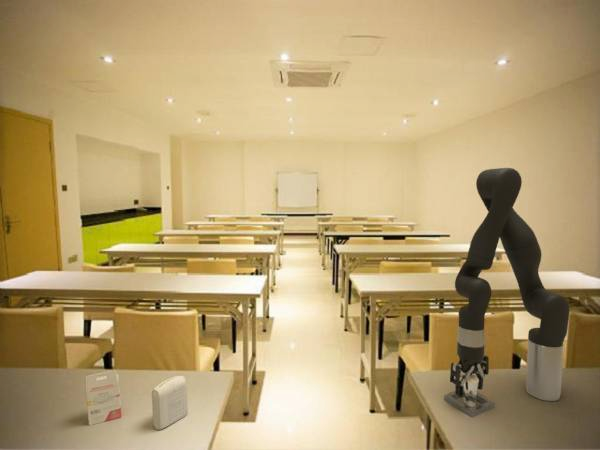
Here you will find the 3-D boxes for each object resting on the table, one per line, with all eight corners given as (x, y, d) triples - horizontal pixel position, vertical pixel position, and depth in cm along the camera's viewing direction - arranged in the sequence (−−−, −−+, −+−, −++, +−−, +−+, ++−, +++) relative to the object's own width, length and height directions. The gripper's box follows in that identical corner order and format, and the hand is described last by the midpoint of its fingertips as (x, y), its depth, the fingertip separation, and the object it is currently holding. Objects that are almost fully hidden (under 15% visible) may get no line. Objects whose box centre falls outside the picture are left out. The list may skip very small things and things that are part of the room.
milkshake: (472, 398, 118) (473, 367, 117) (480, 408, 113) (481, 376, 112) (458, 398, 118) (458, 367, 117) (465, 408, 113) (466, 376, 112)
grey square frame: (466, 391, 122) (466, 386, 122) (494, 407, 113) (494, 402, 113) (444, 399, 117) (444, 395, 117) (471, 416, 108) (471, 411, 108)
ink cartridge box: (121, 408, 115) (118, 363, 114) (121, 417, 111) (118, 370, 109) (89, 416, 112) (85, 369, 110) (88, 426, 107) (84, 376, 106)
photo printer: (181, 409, 115) (179, 370, 113) (190, 414, 112) (188, 374, 111) (150, 427, 106) (148, 385, 105) (159, 432, 104) (157, 390, 103)
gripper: (475, 332, 120) (474, 380, 121) (443, 341, 113) (442, 392, 115) (497, 340, 113) (495, 391, 115) (465, 350, 107) (463, 405, 108)
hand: (469, 392), depth 115 cm, fingers open, 8 cm apart
